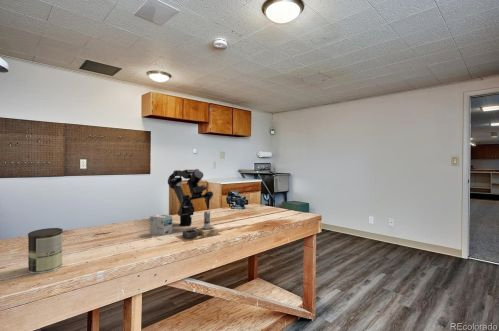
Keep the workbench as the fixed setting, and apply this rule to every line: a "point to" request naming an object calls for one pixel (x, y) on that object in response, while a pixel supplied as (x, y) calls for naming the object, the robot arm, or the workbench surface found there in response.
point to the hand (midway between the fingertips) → (201, 210)
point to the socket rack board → (198, 234)
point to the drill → (206, 220)
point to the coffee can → (44, 250)
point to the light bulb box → (160, 224)
